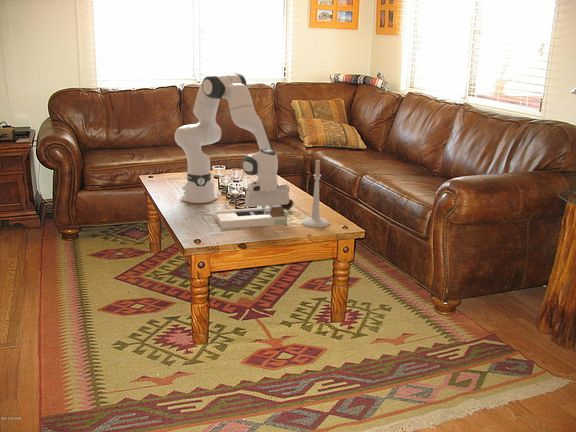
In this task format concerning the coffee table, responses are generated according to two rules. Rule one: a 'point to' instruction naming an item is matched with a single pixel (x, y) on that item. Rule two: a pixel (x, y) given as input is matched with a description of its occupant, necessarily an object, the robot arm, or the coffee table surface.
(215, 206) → the coffee table surface
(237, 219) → the box
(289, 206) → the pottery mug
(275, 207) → the walnut block
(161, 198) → the coffee table surface
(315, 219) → the candlestick
